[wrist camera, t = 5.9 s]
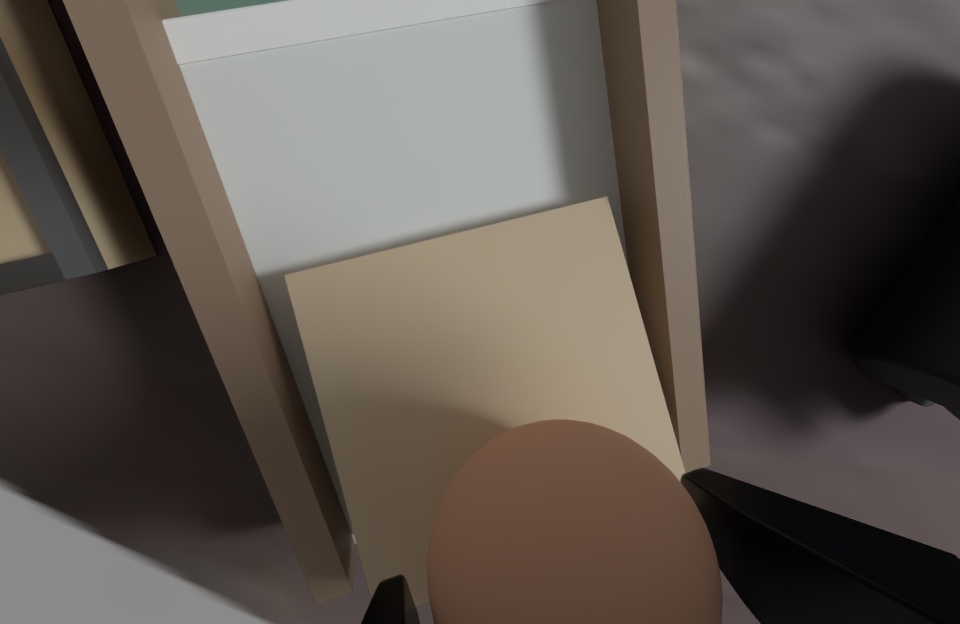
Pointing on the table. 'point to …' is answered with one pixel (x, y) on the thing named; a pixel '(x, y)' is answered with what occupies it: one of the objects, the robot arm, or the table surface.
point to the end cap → (919, 325)
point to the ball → (570, 535)
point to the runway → (416, 237)
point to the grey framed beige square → (55, 163)
